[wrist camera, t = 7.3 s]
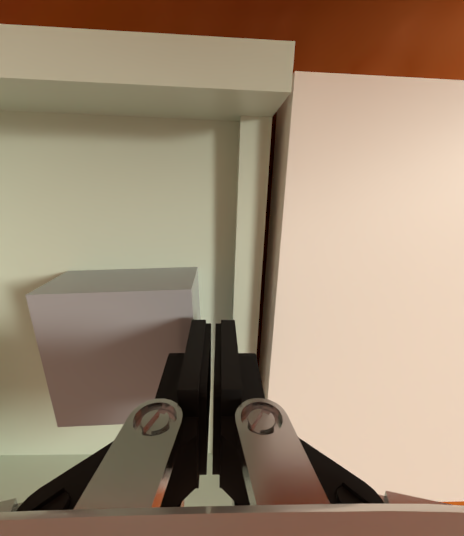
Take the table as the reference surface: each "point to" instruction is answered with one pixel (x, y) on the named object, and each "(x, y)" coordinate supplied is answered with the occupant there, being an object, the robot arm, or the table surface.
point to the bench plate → (370, 277)
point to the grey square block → (110, 337)
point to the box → (126, 198)
